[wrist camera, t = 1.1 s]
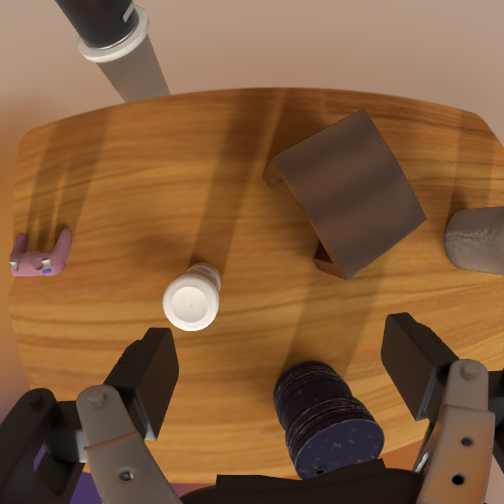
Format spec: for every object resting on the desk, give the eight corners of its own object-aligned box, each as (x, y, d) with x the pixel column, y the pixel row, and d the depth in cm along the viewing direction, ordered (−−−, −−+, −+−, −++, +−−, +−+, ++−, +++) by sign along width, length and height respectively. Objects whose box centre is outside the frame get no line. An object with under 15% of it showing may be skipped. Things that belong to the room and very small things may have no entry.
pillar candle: (480, 266, 40) (545, 275, 25) (443, 271, 39) (514, 284, 25) (479, 209, 40) (545, 204, 25) (442, 208, 39) (513, 200, 24)
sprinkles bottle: (223, 263, 37) (220, 279, 23) (219, 300, 37) (216, 335, 23) (185, 260, 36) (163, 273, 23) (183, 296, 36) (160, 329, 23)
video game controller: (29, 258, 36) (7, 284, 30) (20, 230, 33) (-5, 255, 27) (80, 255, 36) (60, 284, 30) (72, 225, 34) (49, 251, 28)
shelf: (261, 175, 36) (272, 157, 28) (336, 133, 37) (364, 108, 28) (320, 270, 38) (347, 280, 29) (388, 222, 38) (427, 219, 29)
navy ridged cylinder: (311, 346, 38) (354, 401, 23) (352, 386, 39) (400, 441, 24) (257, 394, 38) (272, 465, 23) (302, 429, 39) (330, 496, 24)
